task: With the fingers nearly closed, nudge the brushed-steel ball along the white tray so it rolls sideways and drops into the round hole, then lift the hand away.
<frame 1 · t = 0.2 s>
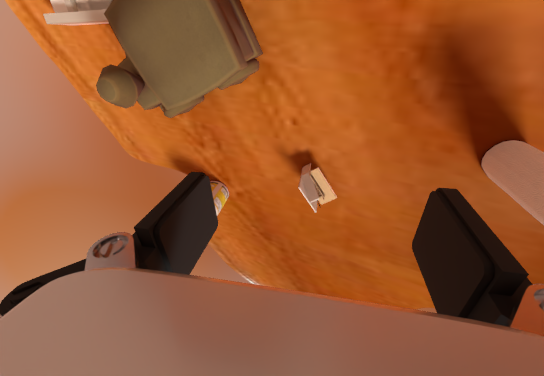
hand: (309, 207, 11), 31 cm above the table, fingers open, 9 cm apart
paper towel roll: (500, 160, 37), on the table
architectural model: (314, 175, 45), on the table
wooden toy train: (206, 57, 38), on the table
supplement bottle: (217, 190, 51), on the table
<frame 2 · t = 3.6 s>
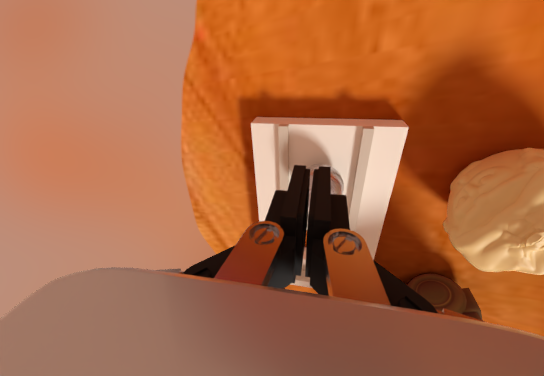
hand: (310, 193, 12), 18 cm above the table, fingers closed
white tray: (318, 205, 33), on the table
sculpture: (492, 183, 27), on the table
steel ball: (319, 186, 26), point 5 cm above the table, touching white tray
wooden toy train: (398, 295, 40), on the table
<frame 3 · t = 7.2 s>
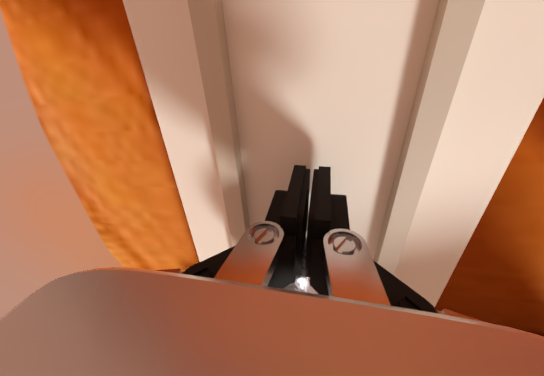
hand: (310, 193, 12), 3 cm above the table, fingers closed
white tray: (313, 208, 16), on the table
steel ball: (289, 274, 13), point 5 cm above the table, tilted 156°, touching white tray
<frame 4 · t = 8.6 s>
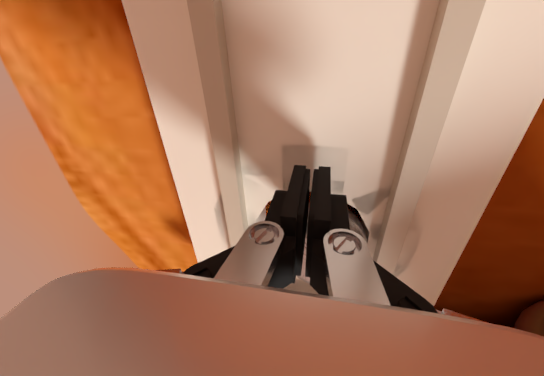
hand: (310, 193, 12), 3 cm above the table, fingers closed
white tray: (316, 134, 13), on the table
steel ball: (321, 241, 14), point 2 cm above the table, tilted 65°
wooden toy train: (476, 336, 20), on the table
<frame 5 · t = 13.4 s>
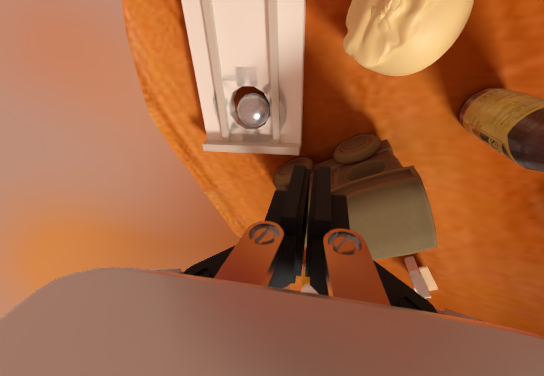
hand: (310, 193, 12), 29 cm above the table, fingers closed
architectural model: (412, 263, 51), on the table
white tray: (250, 67, 36), on the table
sauce bottle: (483, 109, 33), on the table
sculpture: (393, 19, 30), on the table
steel ball: (253, 110, 37), point 2 cm above the table, tilted 65°
wooden toy train: (335, 171, 43), on the table
supplement bottle: (315, 266, 56), on the table
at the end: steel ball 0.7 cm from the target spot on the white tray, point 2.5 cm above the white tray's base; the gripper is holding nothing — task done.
